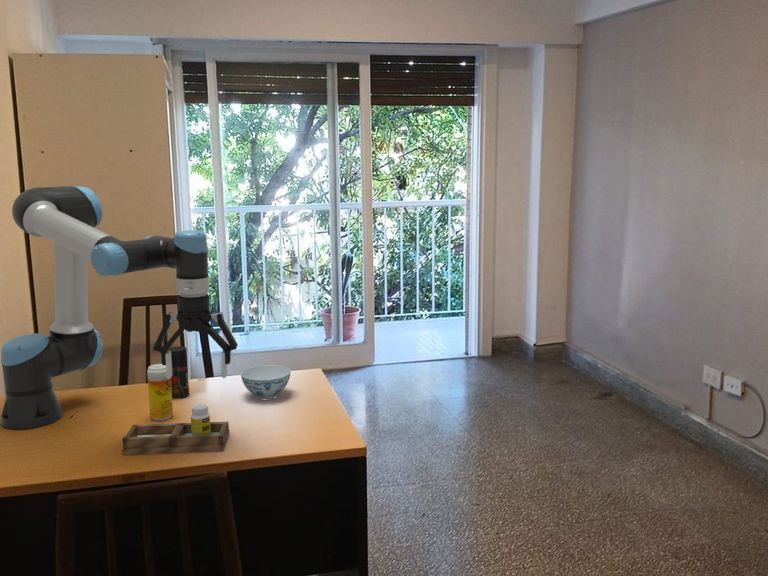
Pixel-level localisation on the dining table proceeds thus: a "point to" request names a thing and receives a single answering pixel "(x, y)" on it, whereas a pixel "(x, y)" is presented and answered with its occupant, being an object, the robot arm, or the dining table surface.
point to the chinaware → (266, 380)
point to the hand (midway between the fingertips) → (197, 376)
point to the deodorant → (179, 372)
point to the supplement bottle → (200, 420)
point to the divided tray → (173, 439)
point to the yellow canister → (159, 393)
